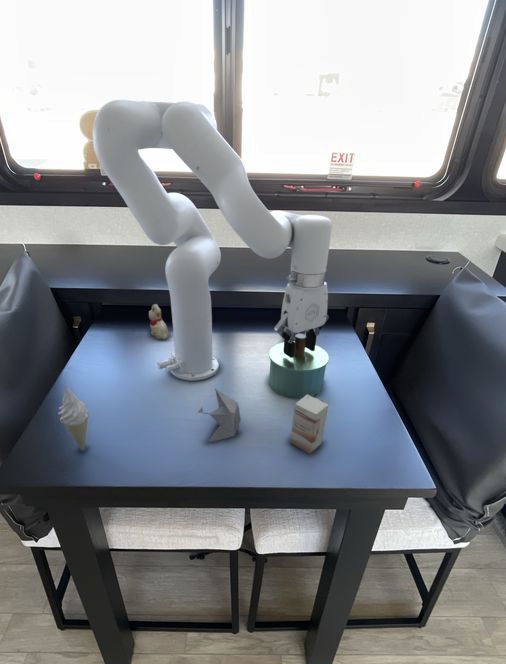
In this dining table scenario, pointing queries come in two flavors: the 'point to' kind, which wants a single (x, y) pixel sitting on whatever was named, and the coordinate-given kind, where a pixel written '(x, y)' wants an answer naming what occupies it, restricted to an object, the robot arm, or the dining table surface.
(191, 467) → the dining table surface
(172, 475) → the dining table surface
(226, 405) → the gray faceted winged figurine
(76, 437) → the ice cream cone
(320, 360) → the lid
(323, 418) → the small beige carton
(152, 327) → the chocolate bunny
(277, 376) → the tin
